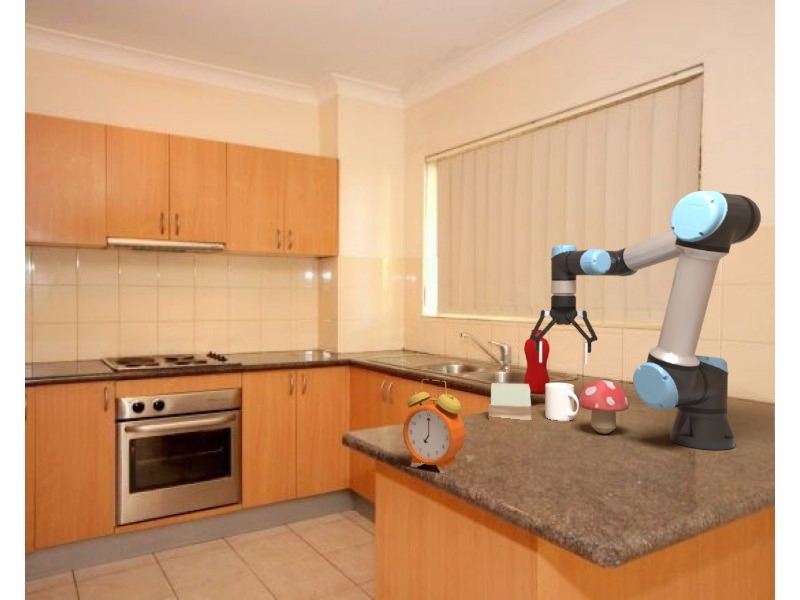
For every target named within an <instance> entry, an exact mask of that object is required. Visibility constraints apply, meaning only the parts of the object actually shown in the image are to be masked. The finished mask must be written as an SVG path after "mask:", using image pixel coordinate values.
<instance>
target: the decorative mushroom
mask: <svg viewBox="0 0 800 600" xmlns="http://www.w3.org/2000/svg"><path fill="white" fill-rule="evenodd" d="M578 402H579V407H581V408H582V409H585V410H589V411H591V416H590V417H591V419H590V425H591V427H592V428H593V429H594V430H595V431H596V432H598V433H599V434H602V435H606V434H609V433H611V432H612V431H614V430H615V429H616V428H617V416H616V415H617V414H616V413H619V412H624V411H627V410H628V409H629V407H630V401H629V397H628V395H627V394H626V391H625V390H624V389H623V388H622V387H621V386H620V385H619V384H616V383H615V382H612V381H609V380H603V379H600V380H595V381H592V382H590V383H589V384H587V385H586V386H585V387H584V388H583V389H582V391H581V392H580V394H579V398H578Z"/></svg>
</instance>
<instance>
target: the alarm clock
mask: <svg viewBox="0 0 800 600" xmlns="http://www.w3.org/2000/svg"><path fill="white" fill-rule="evenodd" d="M424 380H427V381H428V379H427V378H426V379H424V378H423V379H421V383H423V381H424ZM433 381H437V382H439V379H437V380H435V379H433ZM443 382H444V386H445V390H447V382H446V381H445V380H443ZM420 386H421V388H420V389H421V390H419V391H418V392H417V391H414V392H413V393H414V394H413V395H412V396H410V397H409V398H408V400H407V406H408V407H407V408H411V407H414V406H417V405H420V406H417V407H415V408H413V409H412V410H411V411H410V412H409V413H408V414H407V416H406V419H405V421H404V422H403V428H402V434H403V441H404V444H405V447H406V449H407V451H408V452H409V453H410V454H411V457H412V458H411V461H410V463H411V462H413V463H421V462H422V463H425V465H426V466H427V465H429V466H432V465H433V466H436V467H437V466H439V467H444V468H446V467H448V466H450V465H452V464H454V463H456V462H457V460H456V459H457V458H456V455H457V454H458V453H459V452H461V450H462V448H463V446H464V444H465V437H466V430H465V424H464V422H463V419H462V417H461V415H460V414H459V413H460V412H461V409H462V405H461V402H460V401H459V399H457V398H456V397H455V396H454V395H452V394H448V393H447V391H445V393H444V394H443V393H442V394H441V395H439V396H438V397H437V398H435V397H432V396H431V395H430V393H429V392H426V391H423V385H420ZM428 399H429V401H431V402H429V403H426V404H423V402H424V401H427V400H428ZM457 463H458V462H457Z"/></svg>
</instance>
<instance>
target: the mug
mask: <svg viewBox="0 0 800 600" xmlns="http://www.w3.org/2000/svg"><path fill="white" fill-rule="evenodd" d="M574 391H575V385H574V384H572V383H567V382H566V383H565V382H550V383H547V384H546V385H545V393H544V394H545V399H544V400H545V406H544V407H545V408H544V409H545V410H544V411H545V413H544V414H545V418H546V419H547V418H548V420H549V419H551V420H550V421H553V420H558V421H557V422H570V420H571V421H573V419H574V417H576V416H577V415H578V413H579V409H580V405H579V398H578V397H577V395H576V394H575V393H574ZM574 401H575V402H576V406H577V407H576V410H575V402H574Z"/></svg>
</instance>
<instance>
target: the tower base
mask: <svg viewBox="0 0 800 600" xmlns="http://www.w3.org/2000/svg"><path fill="white" fill-rule="evenodd" d="M489 416H492V417H501V418H511V419H520V420H531V421H532V401H531V398H530V406H504V405H491V398H490V399H489V404H488V417H489Z"/></svg>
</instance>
